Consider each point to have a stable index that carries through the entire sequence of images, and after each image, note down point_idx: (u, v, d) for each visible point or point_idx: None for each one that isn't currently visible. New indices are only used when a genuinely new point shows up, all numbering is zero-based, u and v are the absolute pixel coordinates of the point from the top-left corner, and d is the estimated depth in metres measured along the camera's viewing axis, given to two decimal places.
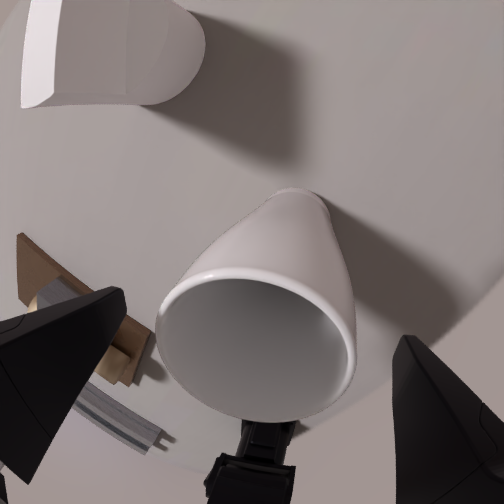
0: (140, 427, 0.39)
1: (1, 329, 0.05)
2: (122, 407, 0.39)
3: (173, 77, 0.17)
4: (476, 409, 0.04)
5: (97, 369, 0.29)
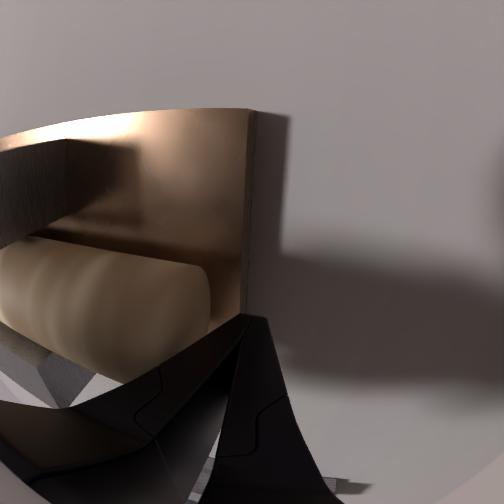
0: None
1: (138, 398, 0.04)
2: None
3: None
4: (267, 399, 0.05)
5: (85, 350, 0.07)
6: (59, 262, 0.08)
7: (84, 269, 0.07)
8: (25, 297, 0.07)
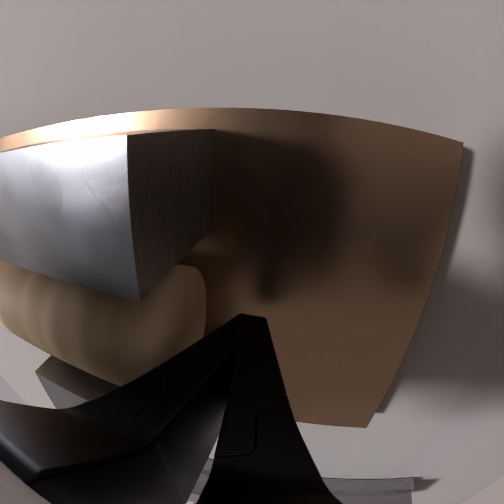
0: (374, 498, 0.14)
1: (139, 398, 0.04)
2: None
3: None
4: (267, 399, 0.05)
5: (80, 352, 0.07)
6: None
7: None
8: (20, 299, 0.07)
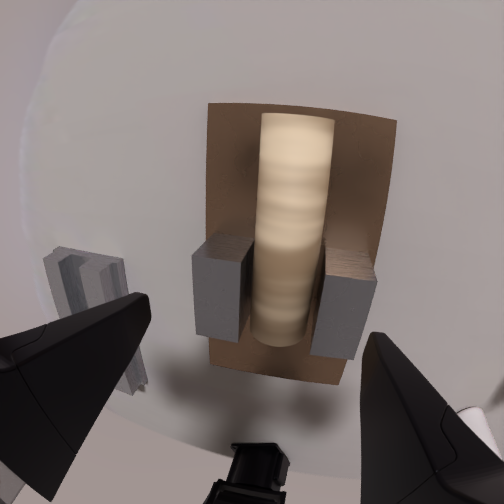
0: (133, 370, 0.29)
1: (21, 342, 0.05)
2: None
3: None
4: (439, 412, 0.04)
5: (280, 319, 0.18)
6: (312, 287, 0.18)
7: (310, 303, 0.19)
8: (299, 279, 0.17)
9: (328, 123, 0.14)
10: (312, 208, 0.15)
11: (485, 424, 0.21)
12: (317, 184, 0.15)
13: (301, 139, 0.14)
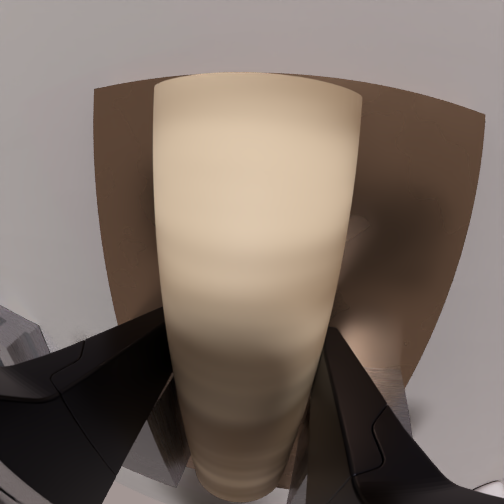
0: None
1: (59, 363, 0.05)
2: None
3: None
4: (374, 411, 0.05)
5: (232, 486, 0.08)
6: (292, 444, 0.08)
7: (287, 458, 0.09)
8: (262, 454, 0.07)
9: (347, 104, 0.04)
10: (289, 354, 0.06)
11: None
12: (305, 297, 0.05)
13: (250, 159, 0.04)
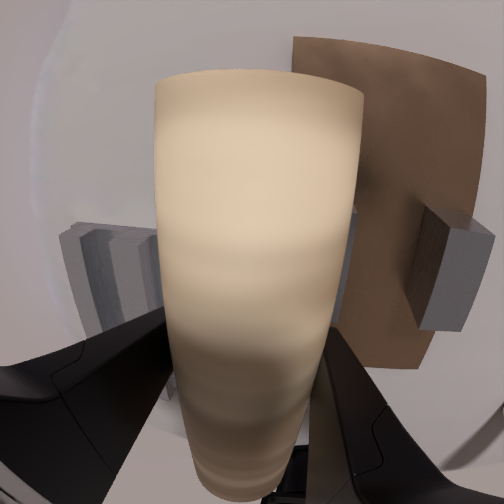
0: None
1: (59, 363, 0.05)
2: None
3: None
4: (374, 411, 0.05)
5: (233, 485, 0.08)
6: (293, 444, 0.08)
7: (288, 458, 0.09)
8: (263, 454, 0.07)
9: (349, 101, 0.04)
10: (291, 353, 0.06)
11: None
12: (307, 294, 0.05)
13: (252, 157, 0.04)
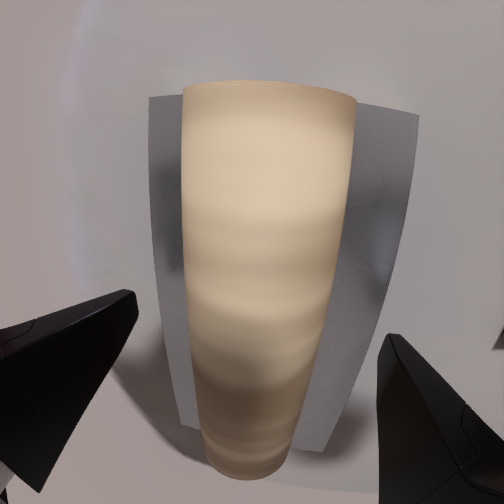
0: None
1: (10, 335, 0.05)
2: None
3: None
4: (458, 411, 0.04)
5: (242, 460, 0.09)
6: (298, 417, 0.09)
7: (293, 433, 0.10)
8: (271, 423, 0.08)
9: (343, 106, 0.05)
10: (298, 316, 0.07)
11: None
12: (311, 263, 0.06)
13: (268, 149, 0.05)
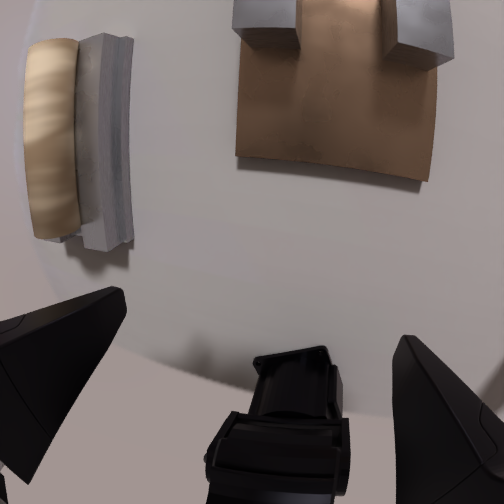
0: (114, 207, 0.20)
1: (1, 329, 0.05)
2: (126, 153, 0.20)
3: None
4: (476, 409, 0.04)
5: (36, 208, 0.16)
6: (61, 178, 0.17)
7: (62, 195, 0.17)
8: (40, 168, 0.15)
9: (56, 41, 0.12)
10: (42, 105, 0.14)
11: None
12: (45, 86, 0.13)
13: (34, 58, 0.12)
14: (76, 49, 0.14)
